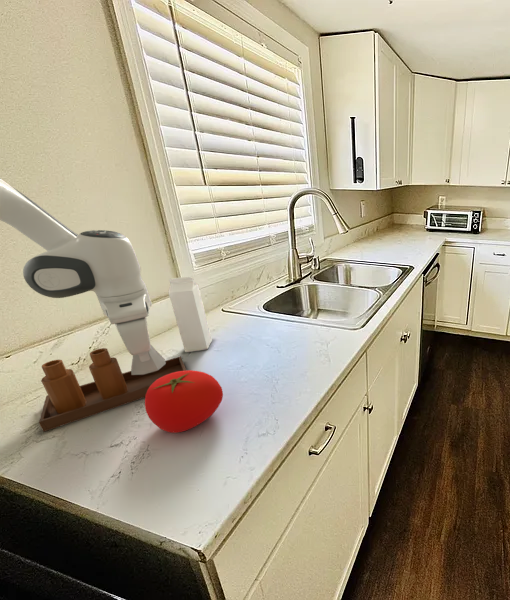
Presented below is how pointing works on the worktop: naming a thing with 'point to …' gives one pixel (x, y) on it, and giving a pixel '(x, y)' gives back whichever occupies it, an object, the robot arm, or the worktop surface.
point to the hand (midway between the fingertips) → (144, 355)
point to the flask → (147, 363)
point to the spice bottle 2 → (107, 374)
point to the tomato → (182, 400)
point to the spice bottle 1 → (62, 387)
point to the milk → (189, 313)
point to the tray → (96, 404)
